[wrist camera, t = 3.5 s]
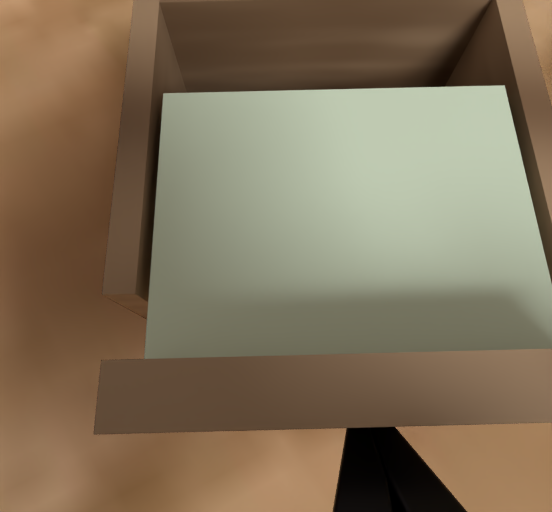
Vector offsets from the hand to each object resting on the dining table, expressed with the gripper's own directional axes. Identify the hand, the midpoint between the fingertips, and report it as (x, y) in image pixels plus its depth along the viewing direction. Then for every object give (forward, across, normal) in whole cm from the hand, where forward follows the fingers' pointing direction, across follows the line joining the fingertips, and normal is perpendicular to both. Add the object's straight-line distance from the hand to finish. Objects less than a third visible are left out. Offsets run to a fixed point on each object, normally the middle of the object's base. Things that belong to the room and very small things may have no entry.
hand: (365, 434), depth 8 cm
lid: (+4, 0, -2) cm, 5 cm away
